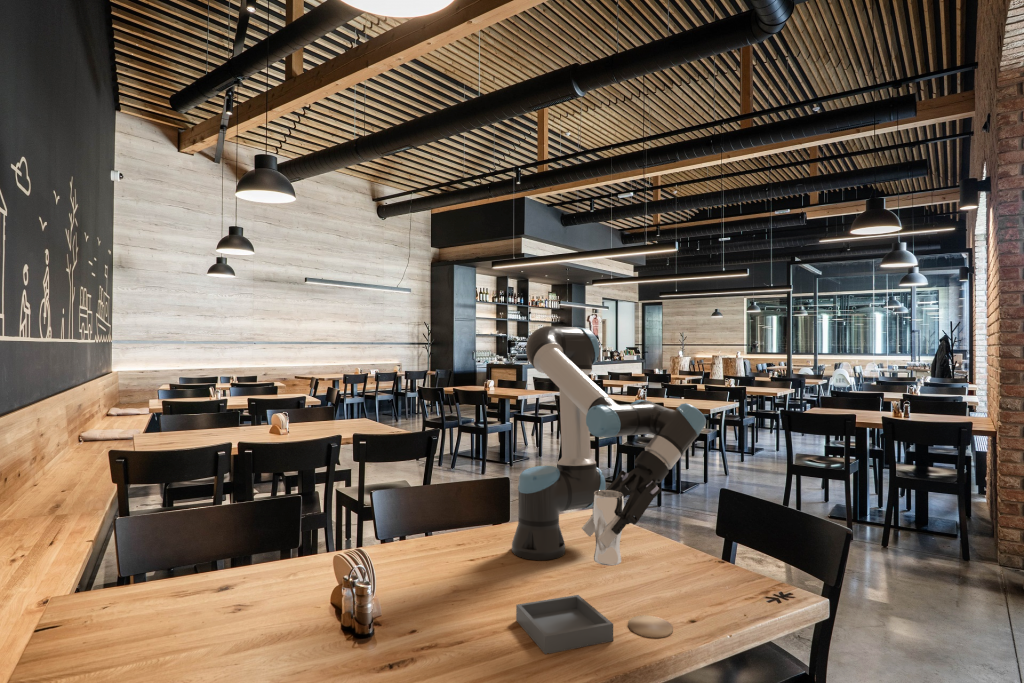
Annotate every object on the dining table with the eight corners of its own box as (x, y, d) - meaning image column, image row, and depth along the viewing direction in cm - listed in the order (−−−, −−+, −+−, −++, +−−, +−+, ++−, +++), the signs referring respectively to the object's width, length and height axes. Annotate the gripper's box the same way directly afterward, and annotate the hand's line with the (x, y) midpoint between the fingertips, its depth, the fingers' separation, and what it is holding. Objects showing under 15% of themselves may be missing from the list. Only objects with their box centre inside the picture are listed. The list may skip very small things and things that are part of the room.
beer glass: (623, 567, 124) (624, 498, 124) (590, 564, 126) (591, 496, 126) (623, 556, 131) (624, 490, 131) (592, 553, 132) (593, 488, 133)
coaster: (619, 621, 120) (619, 619, 120) (655, 614, 124) (655, 612, 124) (644, 641, 112) (644, 639, 112) (682, 633, 115) (682, 631, 115)
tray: (516, 620, 120) (516, 604, 120) (578, 609, 126) (578, 594, 126) (545, 654, 107) (545, 636, 107) (613, 640, 112) (613, 623, 112)
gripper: (693, 480, 125) (628, 564, 119) (641, 462, 143) (583, 534, 137) (673, 457, 123) (606, 541, 117) (623, 442, 141) (563, 514, 135)
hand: (594, 537), depth 127 cm, fingers closed on beer glass, 7 cm apart
